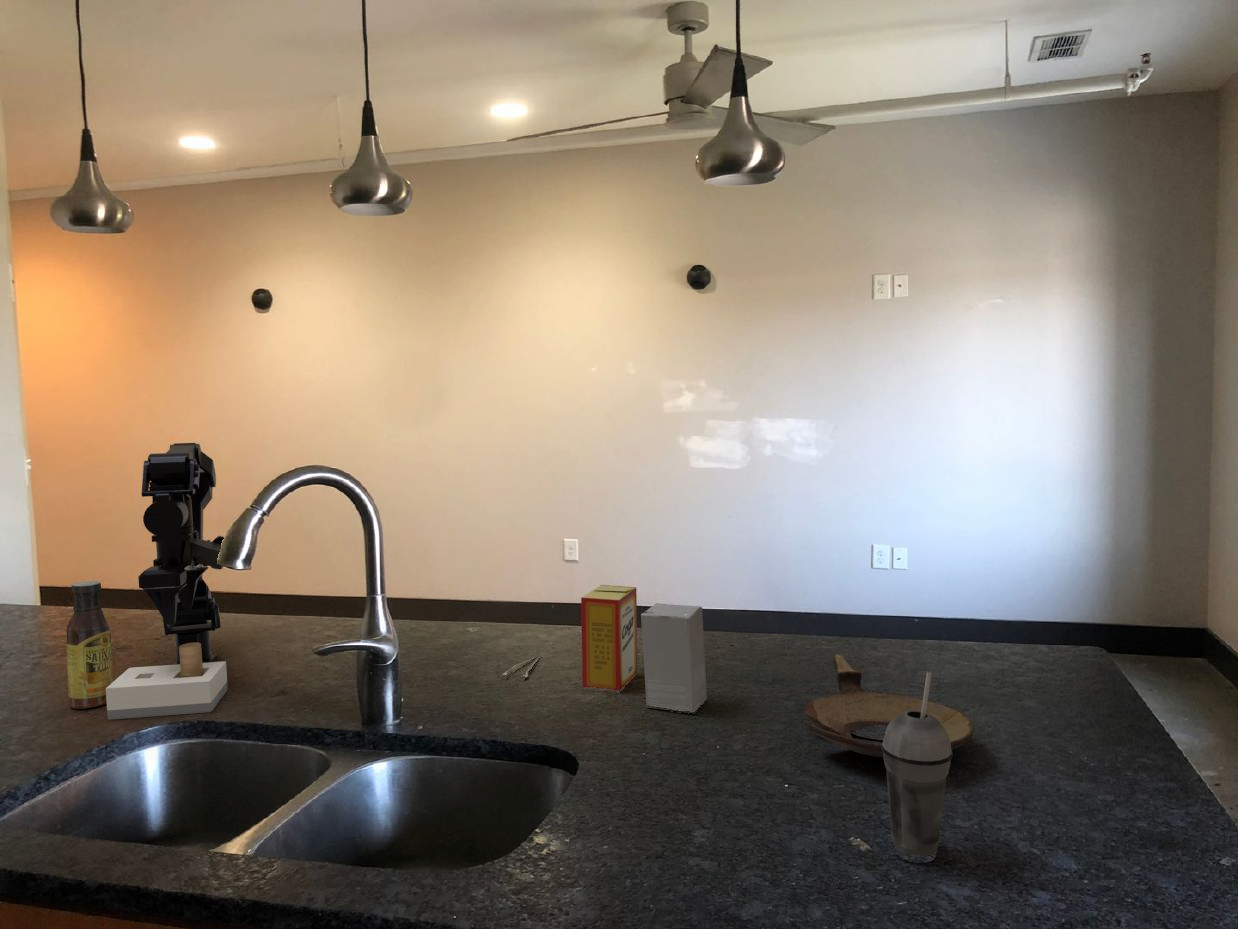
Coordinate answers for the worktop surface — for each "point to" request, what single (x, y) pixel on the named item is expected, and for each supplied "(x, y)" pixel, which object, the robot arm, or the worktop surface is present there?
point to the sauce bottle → (88, 648)
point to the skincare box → (674, 657)
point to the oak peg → (191, 660)
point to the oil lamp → (873, 713)
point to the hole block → (165, 691)
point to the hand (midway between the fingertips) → (179, 617)
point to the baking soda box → (609, 636)
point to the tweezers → (519, 666)
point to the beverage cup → (916, 777)
